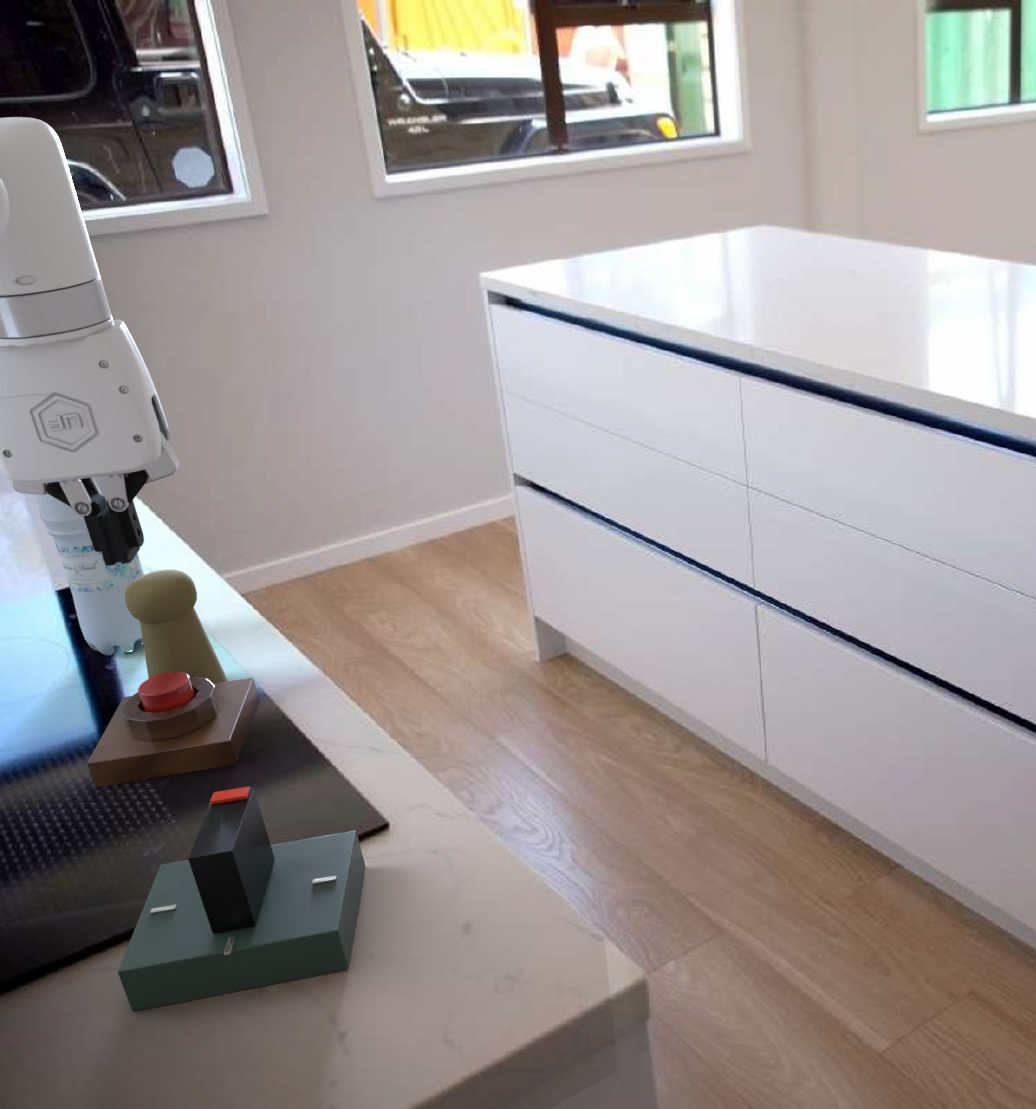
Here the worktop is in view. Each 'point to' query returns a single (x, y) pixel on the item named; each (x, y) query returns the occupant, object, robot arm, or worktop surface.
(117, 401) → the robot arm
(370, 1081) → the worktop surface
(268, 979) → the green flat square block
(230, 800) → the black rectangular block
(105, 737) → the brown block
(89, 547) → the bottle
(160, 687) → the release button
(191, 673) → the olive pawn
